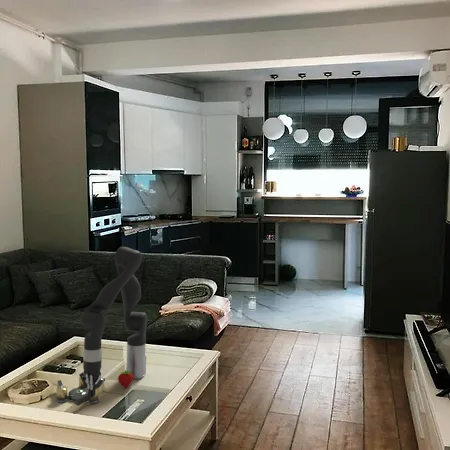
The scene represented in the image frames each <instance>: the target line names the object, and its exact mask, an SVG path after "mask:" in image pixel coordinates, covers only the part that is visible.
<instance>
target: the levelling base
mask: <svg viewBox="0 0 450 450" xmlns="http://www.w3.org/2000/svg"><path fill="white" fill-rule="evenodd" d="M87 392H88V388H83V387H81V388H79V385H78V387H75V388H72V389H70V390H69V391H68V392H67V399H65V400H57V396H56V397H55V403H58V404H64V403H67V402H68V401H72V402H74V403H75V402H76V398H78V397H80V396H82V395H84V394H85V393H87ZM99 402H100V398H99V397H98V400H96V401H89V400H88V401H86V403H87V404H89V405H96V404H98V403H99Z"/></svg>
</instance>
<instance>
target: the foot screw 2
mask: <svg viewBox="0 0 450 450" xmlns="http://www.w3.org/2000/svg"><path fill="white" fill-rule="evenodd" d="M98 398H99V388H97V389H96V390H95V396H94V397H93V398H90V397H89V396H88V392H87V393H85V394H84V395H82V396H80V397H78V398H76V402H75V401H74V404H75V406H77V407H78V406H81V405H82V404H85V403H87V401H88V400H89V401H96V400H98Z"/></svg>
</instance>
